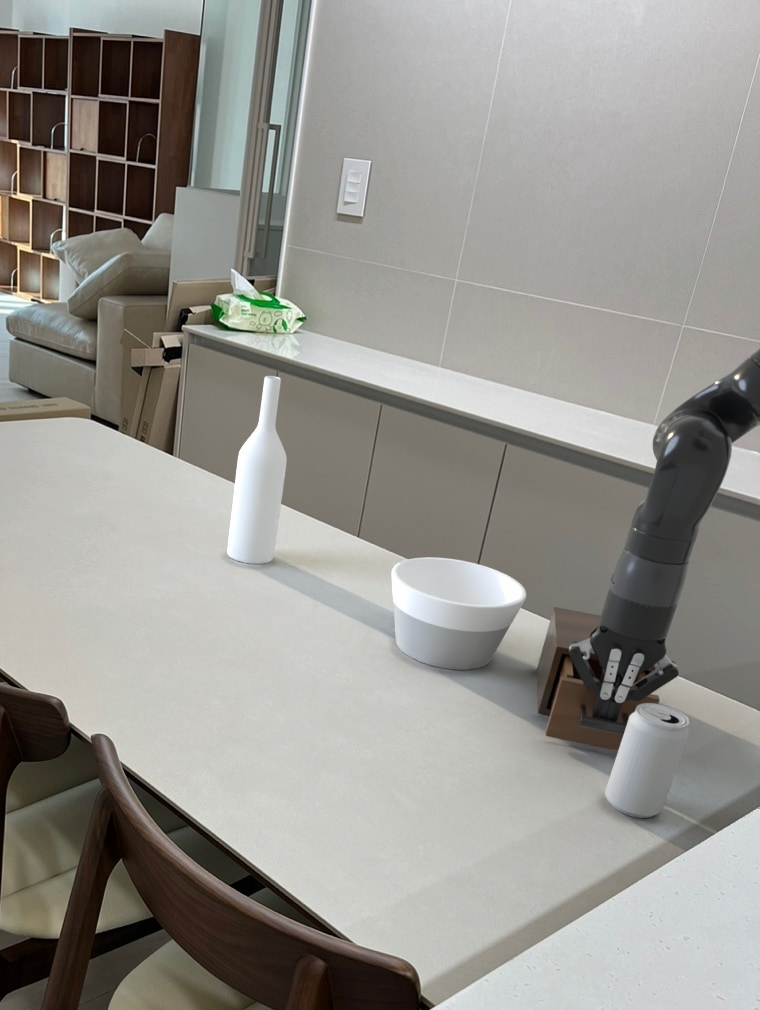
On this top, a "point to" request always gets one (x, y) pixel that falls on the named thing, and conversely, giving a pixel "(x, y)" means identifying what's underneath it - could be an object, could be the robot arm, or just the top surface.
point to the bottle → (259, 486)
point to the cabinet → (562, 649)
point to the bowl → (452, 611)
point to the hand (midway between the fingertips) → (601, 724)
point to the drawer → (586, 709)
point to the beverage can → (647, 760)
